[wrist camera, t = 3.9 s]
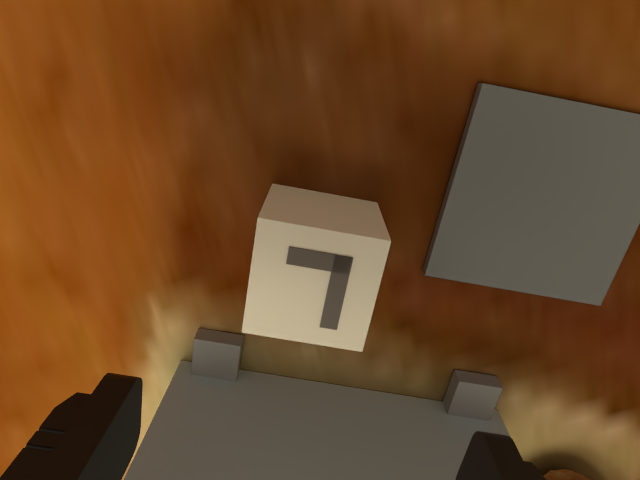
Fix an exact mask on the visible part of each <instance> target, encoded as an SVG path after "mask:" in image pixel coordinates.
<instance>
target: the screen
mask: <svg viewBox="0 0 640 480" xmlns="http://www.w3.org/2000/svg"><path fill="white" fill-rule="evenodd" d="M243 340H244V335H239V334H233V333H226V332H220V331H214V330H208V329H202V328H199V330H198V332H197V334H196V336H195V338H194V345H193V355H192V362H189V361H183V360H181V362H180V364H179V366H178V368H177V370H176V372H175V374H174V376H173V378H172V380H171V382H170V385H169V387H168V389H167V391H166V393H165V395H164V397H163V399H162V401H161V403H160V405H159V407H158V410H157V412H156V414H155V416H154V418H153V420H152V422H151V424H150V426H149V428H148V430H147V432H146V434H145V437H144V439H143V441H142V443H141V445H140V447H139V449H138V451H137V453H136V455H135V457H134V459H133V461H132V464H131V466H130V468H129V470H128V472H127V474H126V476H125V478H124V480H455V479H456V476H457V473H458V470H459V468H460V465H461V463H462V460H463V458H464V455H465V453H466V450H467V448H468V446H469V443H470V441H471V438H472V436H473V434H474V433H475V432H476V431H481V432H488V433H494V434H501V435H507V436H509V437H510V435H509V433H508V431H507V429H506V427H505V425H504V423H503V421H502V419H501V417H500V415H499V413H498V411H497V410H494V409H495V407H496V405H497V402H498V400H499V397H500V395H501V393H502V390H503V387H502V385H501V384H500V382H499V380H498V378H497V376H492V375H486V374H480V373H474V372H467V371H461V370H455V369H454V372H453V375H452V378H451V380H450V383H449V386H448V389H447V391H446V394H445V397H444V400H443V401H436V400H430V399H424V398H417V397H411V396H405V395H398V394H392V393H386V392H379V391H373V390H367V389H360V388H354V387H348V386H341V385H335V384H329V383H322V382H316V381H310V380H303V379H297V378H291V377H284V376H278V375H271V374H265V373H259V372H252V371H246V370H240V369H239V368H240V361H241V354H242V347H243Z"/></svg>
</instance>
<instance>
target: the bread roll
mask: <svg viewBox="0 0 640 480" xmlns="http://www.w3.org/2000/svg"><path fill="white" fill-rule="evenodd" d="M544 477H545V478H546V480H591V479H589V478H587V477H586V476H584V475H582V474H580V473H577V472H575V471H571V470H566V469H559V470H550V471H549V472H548V473H547V474H545V475H544Z"/></svg>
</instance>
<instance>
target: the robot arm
mask: <svg viewBox="0 0 640 480" xmlns="http://www.w3.org/2000/svg"><path fill="white" fill-rule="evenodd" d="M141 407H142V379H141V378H139V377H133V376H126V375H120V374H113V373H107V374H106V375H105V376H104V377H103V379H102V380H101V381H100V383H99V384H98V386H97V387H96V389H95V390H94V391H93V393H92V394H85V393H78V392H77V393H76V394H74V395H73V396H71V397H70V398H68V399H67V400H65V401H64V402H62V403H61V404H59V405H58V406H56V407H55V408H54V409H53V411H52V412H51V413H50V414H49V416H48V417H47V418H46V420H45V421H44V422H43V423H42V425H41V426H40V428H39V431H36V432H35V434H34V435H33V436H32V438H31V439H30V440H29V441H28V443H27V445H26V447H25V448H23V449H22V450H21V452H20V453H19V454H18V455H17V457H16V458H15V459H14V461H13V462H12V463H11V464H10V466H9V467H8V468H7V470H6V471H5V472H4V473H3V475H2V476H1V477H0V480H121V479H122V477H123V475H124V473H125V471H126V469H127V467H128V465H129V463H130V460H131V458H132V456H133V454H134V451H135V449H136V446H137V442H138V439H139V434H140V427H141ZM455 480H546V478H545V477H544V476H543V475H542V474H541V473H540V472H539V471H538V470H537V468H536V467H535V466H534V465H533V464H532V463H531V462H525V461H523V460H522V458H521V456H520V453H519V451H518V449H517V447H516V445H515V443H514V441H513V440H512V439H511V437H509V436H507V435H501V434H494V433H488V432H481V431H476V432H475V433H474V434H473V436H472V438H471V441H470V443H469V446H468V448H467V450H466V453H465V455H464V458H463V460H462V463H461V465H460V468H459V470H458V473H457V476H456V479H455Z"/></svg>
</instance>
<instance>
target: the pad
mask: <svg viewBox="0 0 640 480" xmlns="http://www.w3.org/2000/svg"><path fill="white" fill-rule="evenodd" d="M639 223H640V114H636V113H631V112H626V111H621V110H616V109H611V108H606V107H601V106H596V105H590V104H585V103H580V102H575V101H570V100H565V99H560V98H555V97H550V96H545V95H540V94H535V93H530V92H525V91H520V90H515V89H510V88H505V87H500V86H495V85H490V84H485V83H479V82H478V85H477V88H476V91H475V95H474V98H473V102H472V105H471V108H470V112H469V115H468V118H467V122H466V125H465V128H464V132H463V135H462V139H461V142H460V145H459V149H458V152H457V155H456V159H455V162H454V165H453V169H452V172H451V176H450V179H449V182H448V186H447V189H446V192H445V196H444V199H443V203H442V206H441V209H440V213H439V216H438V219H437V223H436V226H435V229H434V233H433V236H432V240H431V243H430V246H429V250H428V253H427V256H426V260H425V263H424V266H423V272H424V275H426V276H431V277H437V278H443V279H449V280H454V281H460V282H466V283H472V284H478V285H483V286H489V287H495V288H501V289H506V290H512V291H518V292H524V293H529V294H535V295H541V296H547V297H553V298H558V299H564V300H570V301H576V302H581V303H587V304H593V305H599V306H601V303H602V301H603V299H604V297H605V295H606V293H607V291H608V289H609V287H610V285H611V282H612V280H613V278H614V276H615V274H616V272H617V270H618V268H619V266H620V263H621V261H622V259H623V257H624V255H625V253H626V251H627V249H628V247H629V245H630V242H631V240H632V238H633V236H634V234H635V232H636V230H637V228H638V226H639Z"/></svg>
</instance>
